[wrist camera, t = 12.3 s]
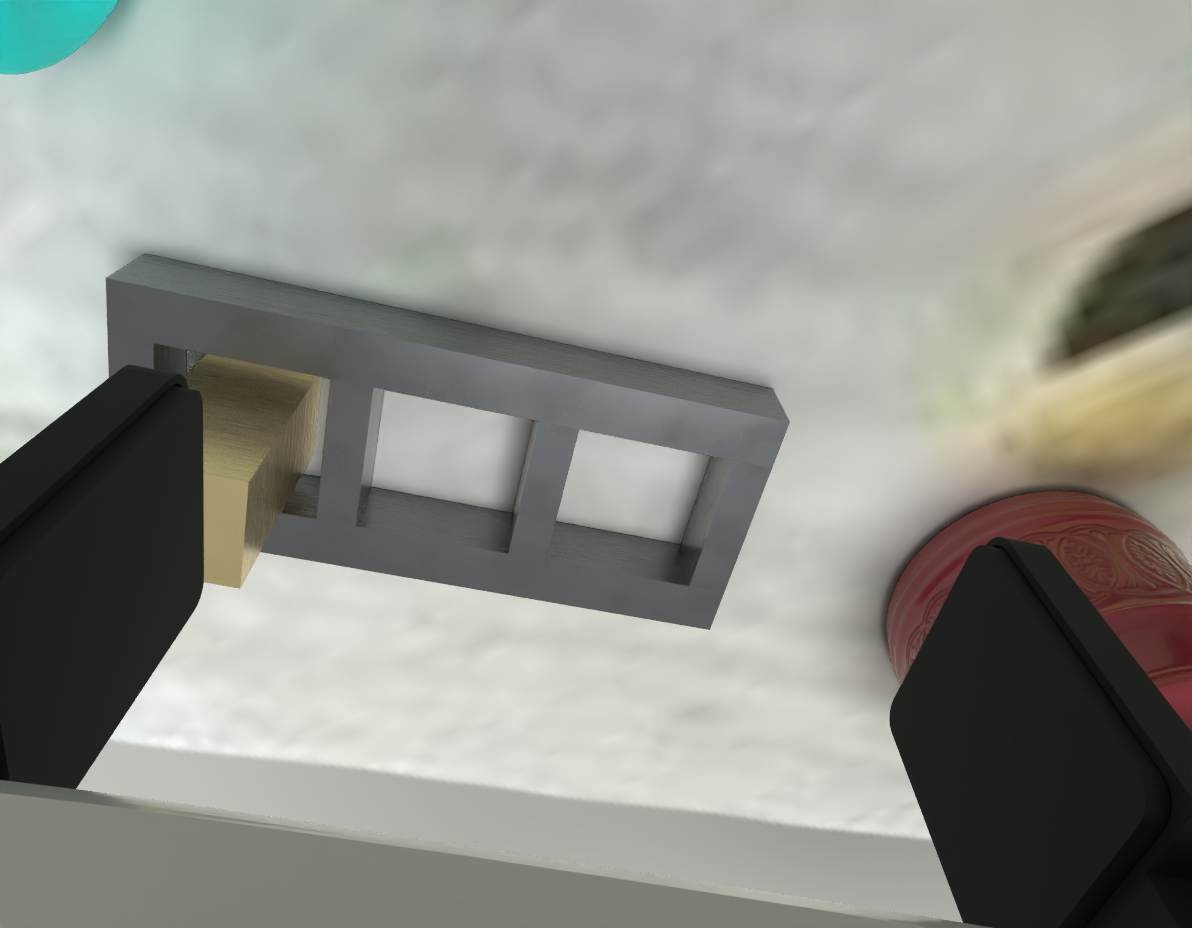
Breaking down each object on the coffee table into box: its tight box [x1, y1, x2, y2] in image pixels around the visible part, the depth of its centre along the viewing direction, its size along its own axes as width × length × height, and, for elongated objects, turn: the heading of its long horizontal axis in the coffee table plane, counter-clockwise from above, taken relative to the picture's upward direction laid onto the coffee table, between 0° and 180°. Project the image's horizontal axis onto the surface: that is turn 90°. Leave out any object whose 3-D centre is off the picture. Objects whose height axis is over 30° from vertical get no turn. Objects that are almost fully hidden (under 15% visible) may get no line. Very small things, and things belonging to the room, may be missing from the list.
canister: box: [886, 491, 1192, 732], centre depth 32 cm, size 13×13×18 cm
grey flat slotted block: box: [106, 254, 790, 630], centre depth 34 cm, size 24×10×3 cm, turn 76°
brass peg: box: [184, 354, 322, 588], centre depth 30 cm, size 4×4×9 cm
